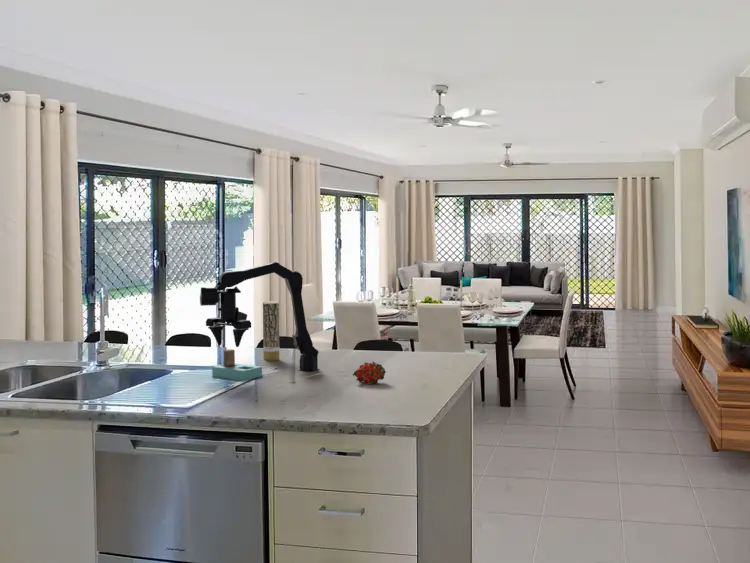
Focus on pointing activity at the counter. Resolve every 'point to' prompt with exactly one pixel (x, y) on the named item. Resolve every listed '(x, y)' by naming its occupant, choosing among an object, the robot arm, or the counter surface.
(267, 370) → the rubber mat
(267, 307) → the paper tube
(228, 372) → the hole block
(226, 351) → the walnut peg
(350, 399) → the counter surface
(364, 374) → the dragon fruit
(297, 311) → the robot arm
